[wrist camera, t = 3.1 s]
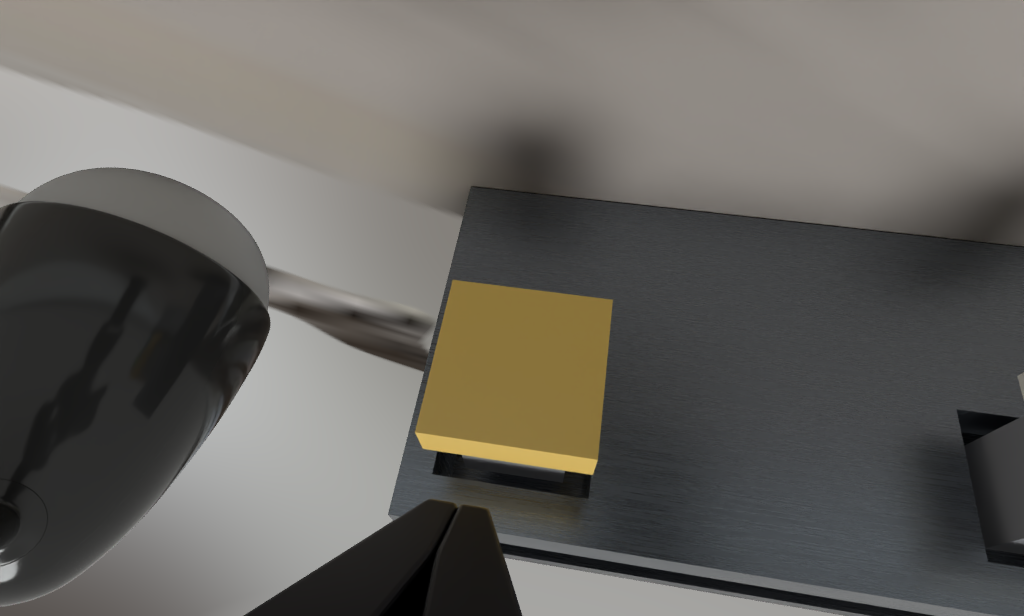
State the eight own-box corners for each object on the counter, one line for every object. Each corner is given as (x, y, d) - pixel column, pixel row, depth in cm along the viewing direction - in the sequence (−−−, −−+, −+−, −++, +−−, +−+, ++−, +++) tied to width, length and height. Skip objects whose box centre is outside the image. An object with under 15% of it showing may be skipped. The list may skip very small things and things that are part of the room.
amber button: (452, 279, 15) (415, 431, 14) (612, 299, 15) (598, 460, 13) (468, 358, 19) (440, 484, 17) (595, 376, 19) (581, 507, 17)
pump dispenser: (325, 203, 24) (148, 647, 16) (277, 303, 32) (144, 629, 25) (23, 70, 20) (-383, 563, 13) (56, 222, 28) (-178, 574, 21)
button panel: (470, 186, 22) (388, 514, 16) (1090, 254, 20) (1238, 655, 14) (479, 255, 25) (414, 542, 20) (1002, 319, 23) (1092, 657, 18)
